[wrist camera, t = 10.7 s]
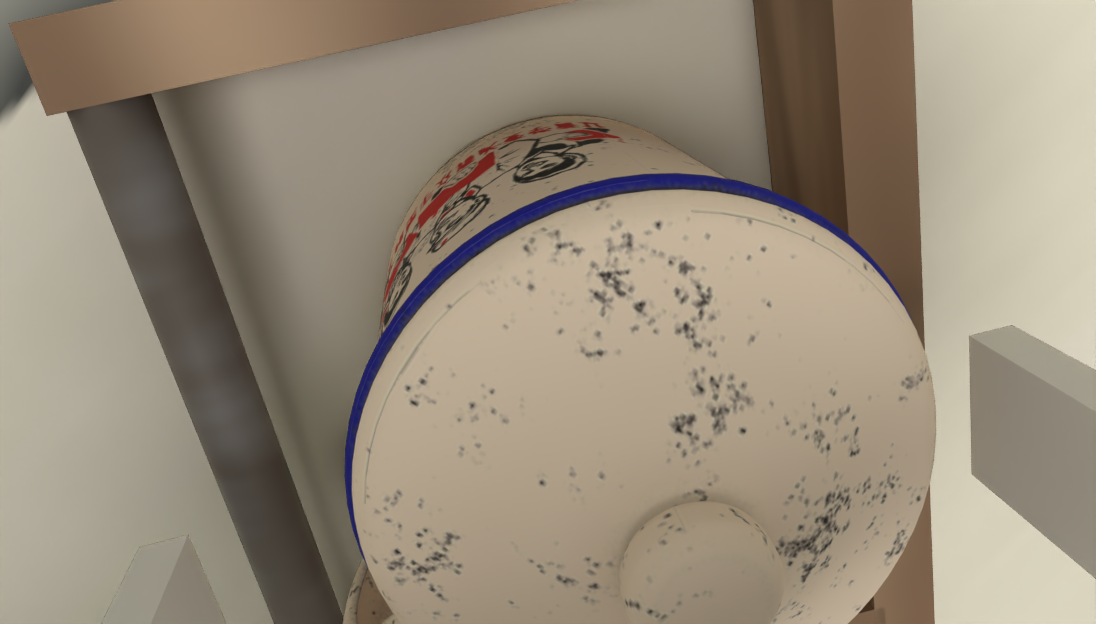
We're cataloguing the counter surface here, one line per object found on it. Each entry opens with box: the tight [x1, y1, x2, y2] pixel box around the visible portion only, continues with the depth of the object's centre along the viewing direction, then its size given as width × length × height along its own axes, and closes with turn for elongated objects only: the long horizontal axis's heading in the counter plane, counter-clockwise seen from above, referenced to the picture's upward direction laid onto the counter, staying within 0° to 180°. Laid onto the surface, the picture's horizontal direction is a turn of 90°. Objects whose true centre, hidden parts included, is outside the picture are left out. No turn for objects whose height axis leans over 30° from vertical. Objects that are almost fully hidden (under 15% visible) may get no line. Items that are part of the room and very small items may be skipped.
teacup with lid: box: [343, 116, 936, 624], centre depth 16 cm, size 12×9×12 cm
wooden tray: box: [9, 0, 935, 624], centre depth 19 cm, size 15×18×4 cm
